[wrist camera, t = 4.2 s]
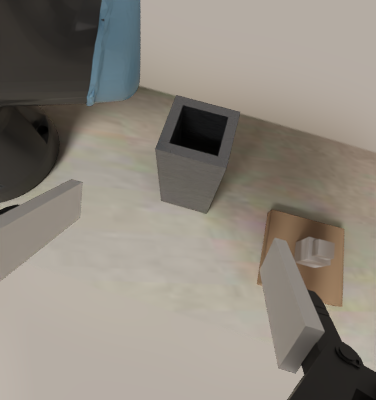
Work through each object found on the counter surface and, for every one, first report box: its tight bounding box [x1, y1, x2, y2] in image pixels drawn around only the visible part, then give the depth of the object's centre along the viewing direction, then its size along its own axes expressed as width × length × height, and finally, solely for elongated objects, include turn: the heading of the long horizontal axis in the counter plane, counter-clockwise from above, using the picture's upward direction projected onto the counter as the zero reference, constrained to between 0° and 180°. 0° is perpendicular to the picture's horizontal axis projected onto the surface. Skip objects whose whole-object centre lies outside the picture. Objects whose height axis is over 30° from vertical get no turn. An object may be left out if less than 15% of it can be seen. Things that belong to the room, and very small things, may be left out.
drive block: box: [257, 210, 344, 307], centre depth 27 cm, size 9×9×6 cm
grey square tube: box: [155, 95, 240, 214], centre depth 26 cm, size 6×6×12 cm
